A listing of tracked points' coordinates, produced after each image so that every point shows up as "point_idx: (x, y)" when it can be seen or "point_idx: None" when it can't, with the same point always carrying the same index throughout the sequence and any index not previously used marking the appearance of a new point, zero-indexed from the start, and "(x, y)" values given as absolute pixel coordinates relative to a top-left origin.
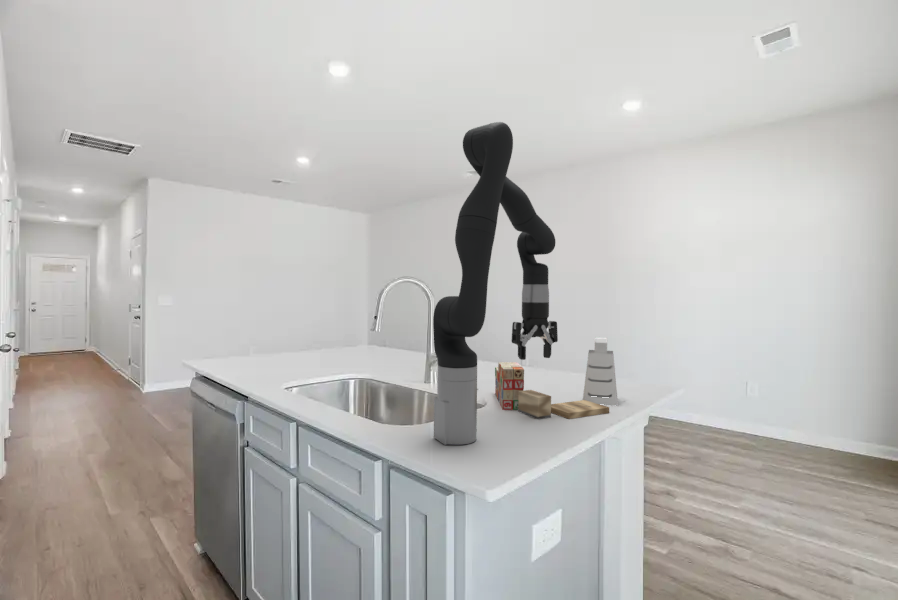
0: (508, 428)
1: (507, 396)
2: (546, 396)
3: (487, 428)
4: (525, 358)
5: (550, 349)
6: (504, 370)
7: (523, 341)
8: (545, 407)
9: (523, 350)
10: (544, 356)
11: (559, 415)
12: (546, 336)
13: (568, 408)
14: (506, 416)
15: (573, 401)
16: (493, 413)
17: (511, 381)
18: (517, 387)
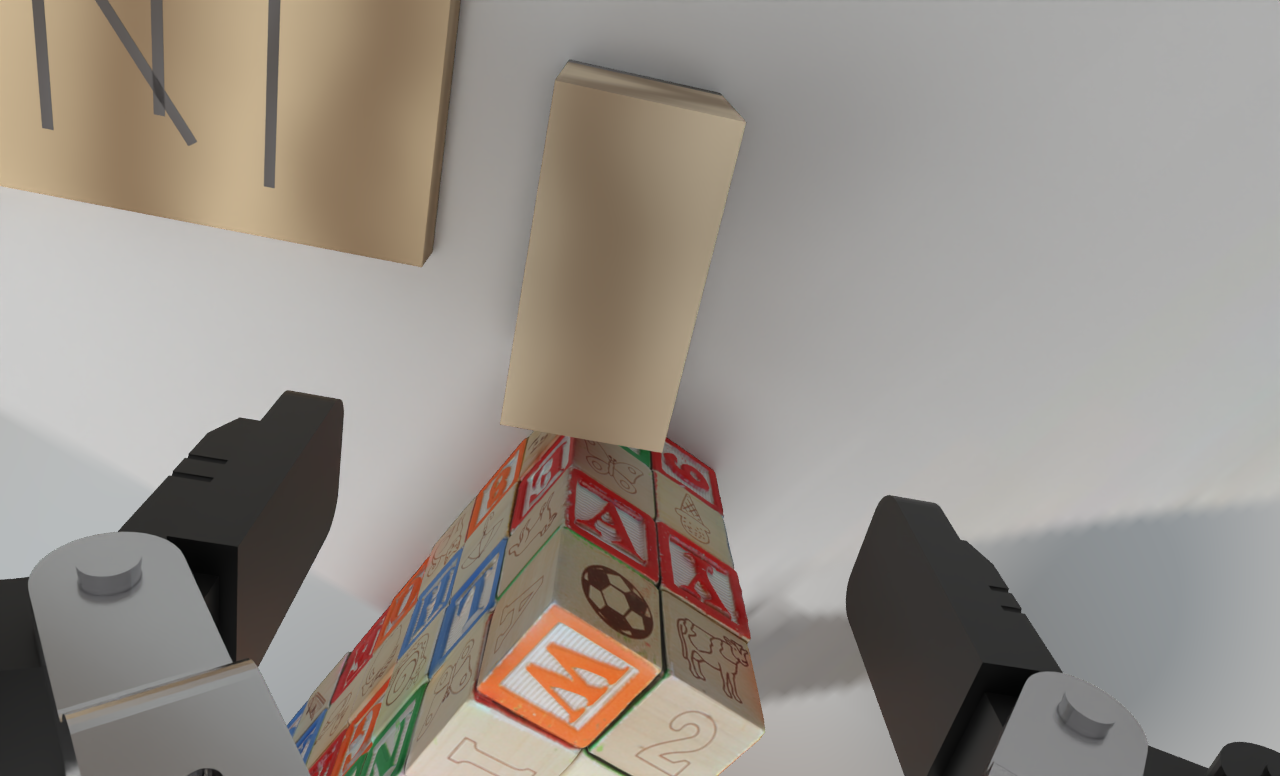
0: (1147, 53)
1: (696, 510)
2: (618, 101)
3: (1256, 165)
4: (897, 498)
5: (185, 492)
6: (751, 711)
7: (1136, 773)
8: (636, 84)
9: (995, 614)
10: (332, 501)
11: (454, 45)
12: (268, 724)
13: (317, 27)
14: (853, 319)
15: (52, 190)
16: (858, 436)
17: (675, 582)
18: (620, 512)
